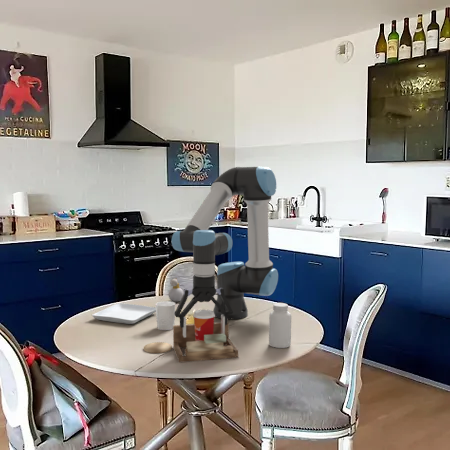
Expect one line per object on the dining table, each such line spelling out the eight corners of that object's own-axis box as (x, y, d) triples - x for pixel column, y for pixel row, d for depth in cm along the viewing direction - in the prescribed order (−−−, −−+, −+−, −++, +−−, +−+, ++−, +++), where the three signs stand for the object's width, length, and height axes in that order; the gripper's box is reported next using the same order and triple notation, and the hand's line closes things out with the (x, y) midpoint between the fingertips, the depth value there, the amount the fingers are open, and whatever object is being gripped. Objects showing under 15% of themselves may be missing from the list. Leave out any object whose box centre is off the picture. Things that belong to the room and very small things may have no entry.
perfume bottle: (182, 299, 255) (182, 275, 254) (186, 303, 246) (186, 279, 245) (167, 300, 253) (167, 276, 252) (170, 305, 244) (170, 280, 243)
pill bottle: (285, 350, 181) (285, 308, 180) (265, 346, 186) (265, 305, 184) (294, 343, 188) (295, 303, 187) (274, 340, 192) (275, 300, 191)
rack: (227, 343, 189) (227, 321, 188) (238, 357, 174) (238, 334, 173) (173, 347, 184) (173, 325, 183) (179, 362, 170) (179, 338, 169)
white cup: (172, 331, 203) (171, 306, 202) (153, 330, 204) (152, 305, 203) (177, 325, 211) (177, 301, 210) (159, 324, 212) (159, 300, 211)
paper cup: (192, 347, 184) (192, 309, 183) (214, 347, 185) (214, 308, 183) (193, 355, 176) (193, 315, 175) (215, 354, 177) (215, 314, 175)
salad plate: (133, 327, 209) (133, 319, 208) (90, 322, 217) (90, 314, 216) (159, 314, 228) (159, 307, 228) (118, 309, 236) (118, 302, 236)
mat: (170, 342, 189) (170, 341, 189) (173, 352, 179) (173, 350, 179) (142, 344, 187) (142, 343, 187) (144, 354, 177) (144, 352, 177)
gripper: (236, 271, 184) (235, 329, 186) (166, 274, 178) (166, 334, 180) (241, 275, 177) (241, 336, 179) (169, 278, 171) (169, 340, 173)
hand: (203, 335), depth 180 cm, fingers open, 13 cm apart
